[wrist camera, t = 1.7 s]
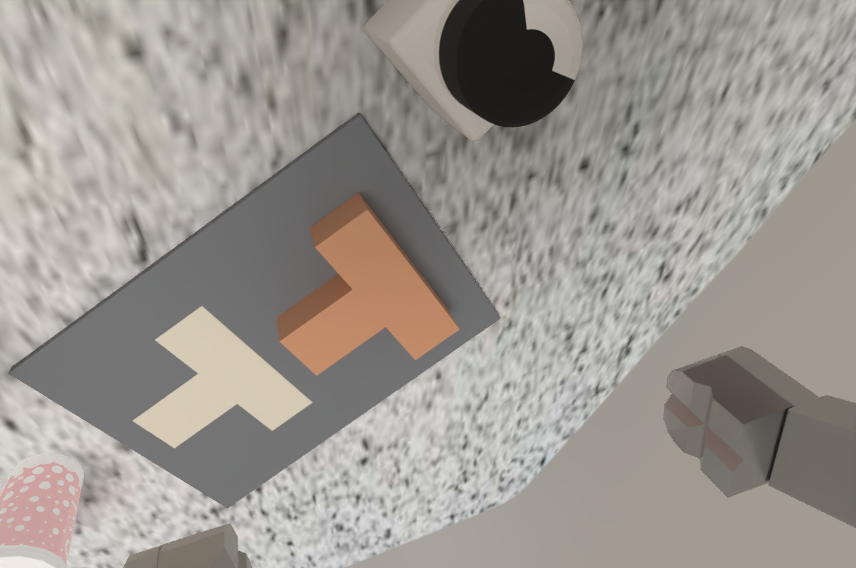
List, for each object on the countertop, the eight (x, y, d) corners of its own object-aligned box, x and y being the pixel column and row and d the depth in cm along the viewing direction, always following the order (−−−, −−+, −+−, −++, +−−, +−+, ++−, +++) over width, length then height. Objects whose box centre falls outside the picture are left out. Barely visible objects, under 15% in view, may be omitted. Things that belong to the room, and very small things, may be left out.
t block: (358, 192, 37) (367, 209, 34) (446, 308, 43) (459, 329, 41) (237, 279, 37) (237, 302, 35) (343, 380, 44) (349, 406, 41)
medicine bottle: (436, 115, 36) (512, 174, 26) (360, 27, 32) (415, 57, 23) (518, 33, 35) (629, 63, 25) (449, -68, 31) (548, -79, 21)
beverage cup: (59, 515, 43) (-6, 720, 32) (-22, 484, 40) (-128, 700, 28) (114, 468, 43) (69, 659, 31) (36, 431, 39) (-47, 631, 28)
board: (358, 112, 35) (360, 115, 34) (497, 314, 46) (500, 318, 45) (11, 367, 36) (8, 373, 36) (227, 502, 48) (227, 508, 47)
